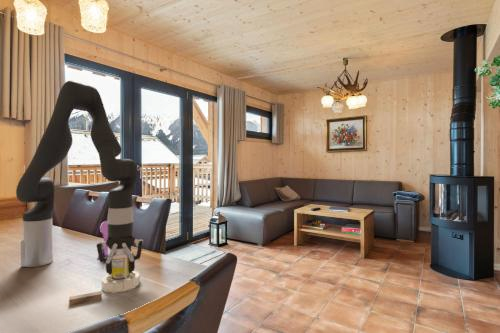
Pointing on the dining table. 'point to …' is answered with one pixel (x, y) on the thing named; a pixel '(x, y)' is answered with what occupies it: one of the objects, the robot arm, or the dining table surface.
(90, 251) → the dining table surface
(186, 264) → the dining table surface
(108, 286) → the jar dish
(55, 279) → the dining table surface
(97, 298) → the walnut stick
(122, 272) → the supplement bottle
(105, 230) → the toy chair
